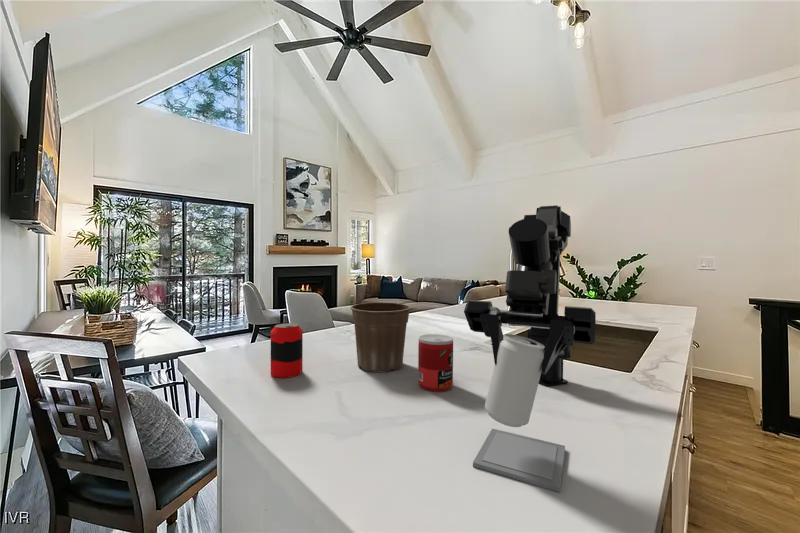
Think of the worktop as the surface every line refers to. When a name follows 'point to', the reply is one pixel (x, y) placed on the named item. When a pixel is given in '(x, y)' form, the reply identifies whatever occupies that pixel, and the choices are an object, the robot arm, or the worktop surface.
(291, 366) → the soda can
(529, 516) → the worktop surface
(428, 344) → the canned food
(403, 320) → the plant pot
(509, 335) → the beverage can
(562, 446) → the coaster
